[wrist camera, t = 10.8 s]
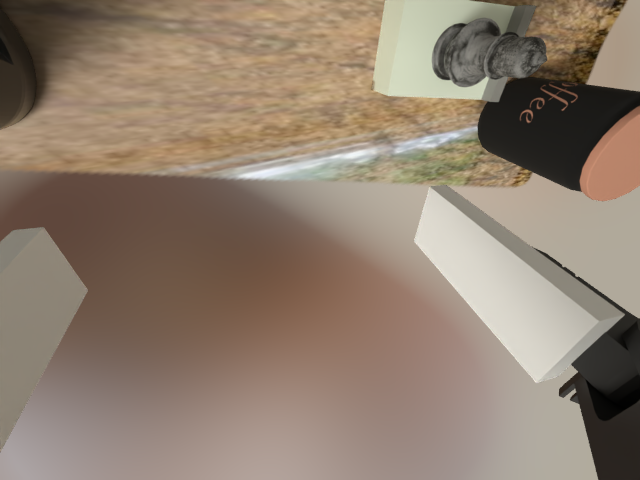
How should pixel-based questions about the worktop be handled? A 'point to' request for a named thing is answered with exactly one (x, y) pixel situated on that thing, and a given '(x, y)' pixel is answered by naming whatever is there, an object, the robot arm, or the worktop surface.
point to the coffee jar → (568, 134)
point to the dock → (420, 38)
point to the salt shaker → (485, 53)
